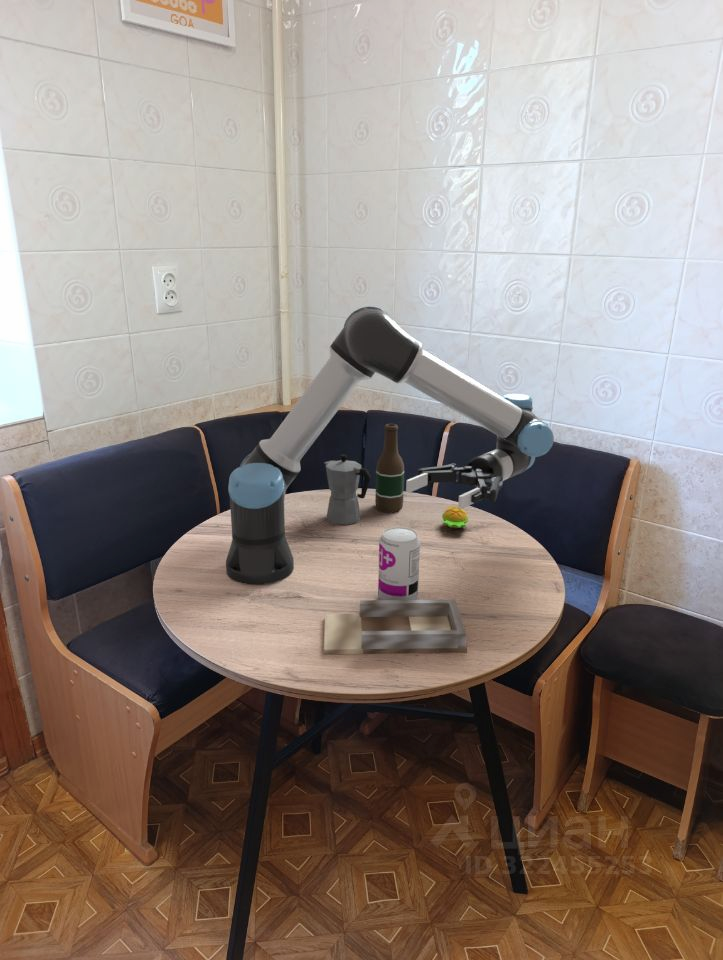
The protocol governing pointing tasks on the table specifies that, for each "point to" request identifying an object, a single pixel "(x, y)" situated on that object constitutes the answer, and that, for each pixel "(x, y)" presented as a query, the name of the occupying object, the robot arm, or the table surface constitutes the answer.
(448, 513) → the pineapple toy
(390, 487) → the beer bottle
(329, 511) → the coffeepot
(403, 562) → the supplement can
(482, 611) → the table surface
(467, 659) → the table surface
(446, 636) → the rectangular tray
